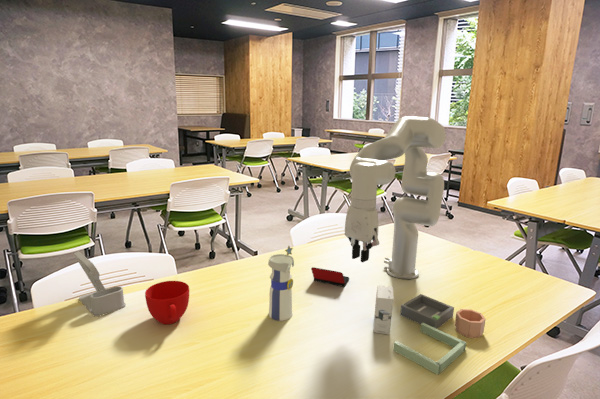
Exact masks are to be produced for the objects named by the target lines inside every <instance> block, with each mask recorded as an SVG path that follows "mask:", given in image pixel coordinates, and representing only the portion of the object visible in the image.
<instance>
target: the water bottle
mask: <svg viewBox="0 0 600 399" xmlns="http://www.w3.org/2000/svg"><path fill="white" fill-rule="evenodd" d="M293 249H294V247H290V245H287V248H286V249H285V250H284V252H286V254H284V253H283V254H282V253H281V254H279V253H278V254H273V255H271V256H270V257H269V259H268V264H267V265H268V266H269V267H270V268H271V273H270V275H269V279H270V287H269V300H268V301H269V306H268V307H269V308H268V317H269V318H270V319H272V320H274V321H287V320H289V319H291V318H292V316H293V289H292V287H293V285H294V279H293V275H292V274H291V271H290V270H291V267H292V268H294V266H295V261H294V257H293V256H291V255H292V254H293V253H292V250H293Z"/></svg>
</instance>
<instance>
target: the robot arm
mask: <svg viewBox="0 0 600 399" xmlns="http://www.w3.org/2000/svg"><path fill="white" fill-rule="evenodd" d="M446 135H447V133H446V128H445V127H444V126H443V125H442V124H441V123H440V122H438V121H437V120H436V119H434V118H431V117H425V116H403V117H400V118H399V119H397V121H396V122H394V123H393V125H392V127H391V128H390V130H389V131H388V132H387V134H386V135H385V136H384V137H383V138H381V139H378V140H376V141H374V142H371V143H369V144H368V145H366V146H364V147H363V148H361V149H360V150H359V151H358V152H357V154H356V156H354V158H353V159H352V161H351V163H350V166H349V174H350V175H349V176H350V177H351V179H352V180H351V196H349V198H348V199H349V201H350V205H348V208H347V211H346V216H345V223H344V236H346V238H347V239H348V240H349V242H350V246H351V247H352V248H351V251H352V252H351V258H352V259H353V260H354V259H358V258H360V262H361V263H364V262H367V261H369V258H370V250H371V249H372V248H373V247H377V246H379V245H380V241H379V213H378V209H377V208H376V207H377V206H376V205H377V193H378V186H380V185H381V186H383V185H388V184H390V183H391V182H393V180H394V178H395V177H396V167H395V164H393V163H392V162H391V161H389V160H393V159H397V158H398V159H399V158H400V157H402V156H403V155H404V165H403V171H402V177H401V184H400V185H401V191H402V192H403V193H405V194H409V195H414V196H421V197H426V198H427V200H425V199H420V198H413V197H405V196H403V197H399V198H396V199H395V201H394V202H393V207H392V214H393V235H392V236H393V237H392V251H391V258H390V257H389V256H385V257H384V260H383V263H385V264H387V265H388V266H387V268H386V272H387V274H388V275H389V276H391V277H393V278H396V279H402V280H411V279H416V278H418V277H419V273H420V272H419V270H418V269H417V268H416V263H417V252H418V251H417V250H418V243H419V242H418V240H419V230H418V228H417V225H421V226H428V227H433V226H435V225H437V224H438V221H439V218H440V215H441V207H442V202H443V198H444V197H443V196H444V190H445V180H444V177H443V175H442V174H441V173H437V172H431V171H427V168H428V161H429V158H428V155H427V153H426V151H425V150H424V148H429V149H430V148H431V149H438V148H441V147H442V146H443V145H444V144H445V142H446V138H447V136H446ZM416 224H417V225H416ZM360 242H362V250H361V244H360Z"/></svg>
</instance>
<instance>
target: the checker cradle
mask: <svg viewBox="0 0 600 399" xmlns="http://www.w3.org/2000/svg"><path fill="white" fill-rule="evenodd" d="M454 310H455V306H451V305H449V304H446V303H445V302H442V301H439V300H436V299H434V298H432V297H429V296H427V295H424V294H421V293H420V294H418V295H416V296H414V297H413V298H411V299H410V300H408V301H406V302H405V303H402V304H401V305H400V316H402V317H404V318H405V319H408V320H410V321H411V322H415V323H416V324H419V325H421V324H422V323H425V324H427V325H429V326H432V327H434V328H436V329H439V328H440V327H442V326H443V325H445V324H446V323H447V322H448V321H450V320H451V319H452V318H454Z"/></svg>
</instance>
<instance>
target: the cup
mask: <svg viewBox="0 0 600 399" xmlns="http://www.w3.org/2000/svg"><path fill="white" fill-rule="evenodd" d="M485 324H486V317H485V316H484V315H483V314H482V312H479V311H477V310H474V309H472V308H471V309H470V308H468V309H467V308H460V309H459V310H458V311H456V312H455V321H454V327H455V328H454V329H455V331H456V332H457V334H459V335H460V336H463V337H466V338H469V339H479V338H481V337H482V336H483V333H484V332H485V327H486V326H485Z"/></svg>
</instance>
